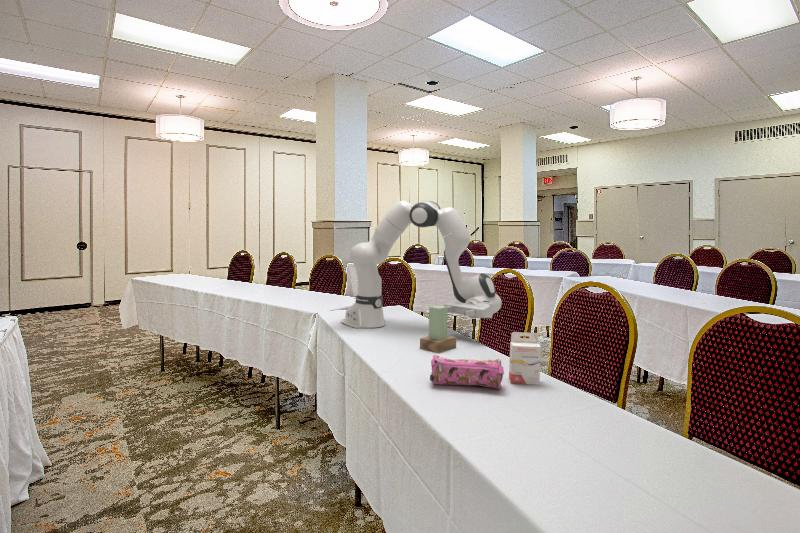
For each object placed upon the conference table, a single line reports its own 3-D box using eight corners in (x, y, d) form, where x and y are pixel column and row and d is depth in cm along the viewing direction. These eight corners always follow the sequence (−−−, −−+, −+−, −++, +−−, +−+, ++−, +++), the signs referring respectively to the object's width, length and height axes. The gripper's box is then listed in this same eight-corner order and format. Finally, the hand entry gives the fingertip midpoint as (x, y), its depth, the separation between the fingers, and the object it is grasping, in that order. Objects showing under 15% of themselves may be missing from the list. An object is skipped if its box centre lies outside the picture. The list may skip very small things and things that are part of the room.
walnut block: (419, 348, 181) (419, 338, 180) (437, 343, 189) (437, 333, 188) (438, 353, 174) (438, 342, 174) (456, 347, 182) (456, 337, 182)
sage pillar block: (428, 337, 181) (429, 306, 180) (437, 335, 185) (437, 305, 184) (439, 340, 178) (439, 308, 177) (447, 337, 181) (447, 307, 180)
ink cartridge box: (510, 383, 141) (512, 335, 140) (508, 378, 146) (510, 331, 145) (540, 384, 141) (541, 336, 139) (537, 379, 146) (538, 332, 144)
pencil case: (428, 388, 138) (428, 358, 137) (433, 378, 147) (433, 350, 146) (503, 394, 133) (504, 364, 132) (504, 384, 142) (504, 355, 141)
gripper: (455, 297, 205) (434, 301, 195) (495, 303, 191) (476, 307, 181) (454, 311, 205) (434, 316, 195) (495, 318, 191) (476, 323, 181)
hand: (455, 312), depth 188 cm, fingers open, 8 cm apart
